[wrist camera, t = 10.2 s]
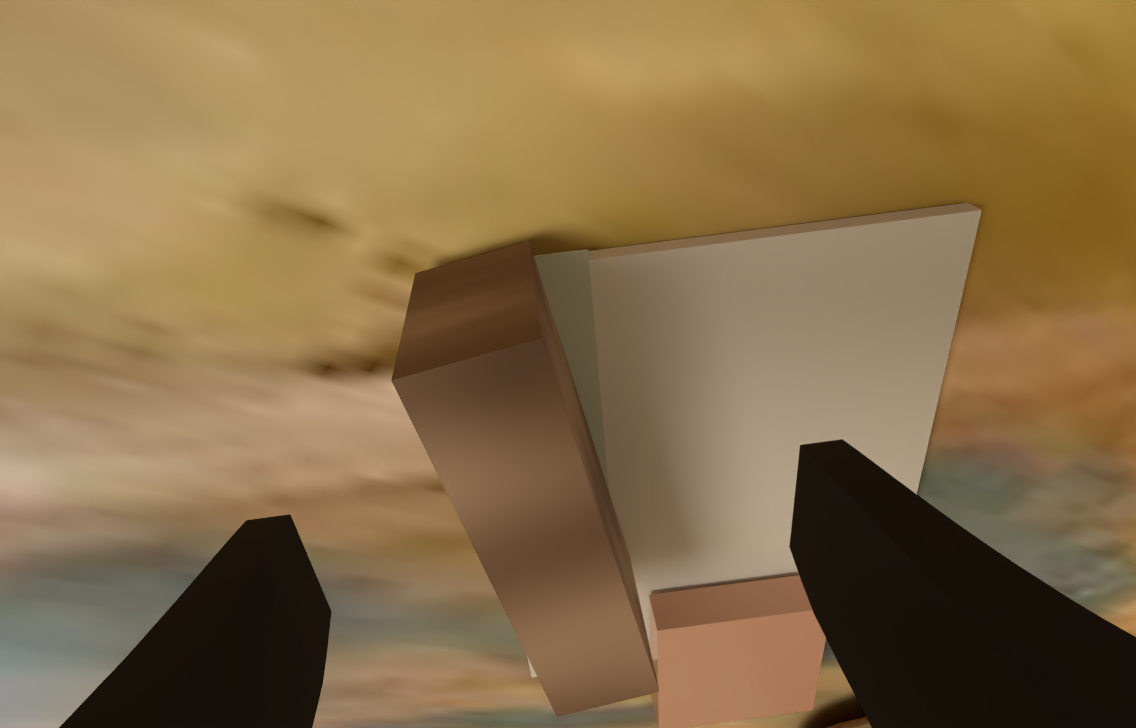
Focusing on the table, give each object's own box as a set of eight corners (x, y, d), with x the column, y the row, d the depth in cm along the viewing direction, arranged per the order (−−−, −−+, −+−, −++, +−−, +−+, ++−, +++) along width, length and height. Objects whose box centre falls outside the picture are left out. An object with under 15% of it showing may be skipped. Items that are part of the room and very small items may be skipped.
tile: (831, 607, 24) (812, 710, 27) (812, 569, 25) (796, 670, 28) (657, 630, 23) (658, 731, 27) (647, 590, 25) (650, 690, 28)
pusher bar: (629, 556, 24) (659, 691, 20) (545, 578, 24) (557, 716, 20) (528, 240, 17) (540, 338, 13) (415, 273, 18) (391, 380, 13)
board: (970, 191, 19) (984, 199, 18) (879, 613, 28) (886, 626, 27) (449, 257, 18) (447, 267, 18) (530, 663, 27) (531, 678, 27)
